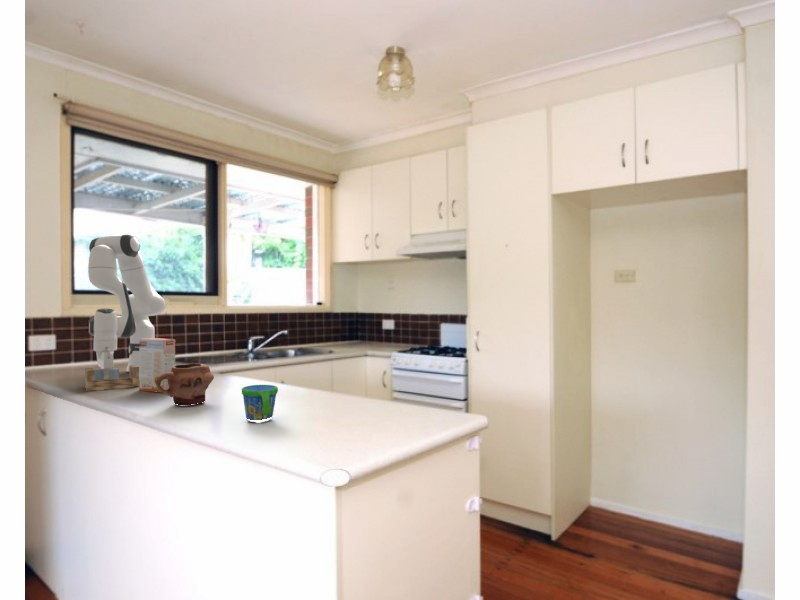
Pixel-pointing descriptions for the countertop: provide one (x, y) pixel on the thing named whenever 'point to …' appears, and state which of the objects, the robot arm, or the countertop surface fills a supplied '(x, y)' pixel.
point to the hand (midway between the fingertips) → (105, 378)
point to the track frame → (111, 380)
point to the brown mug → (187, 383)
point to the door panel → (112, 374)
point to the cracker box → (155, 362)
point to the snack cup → (259, 401)
